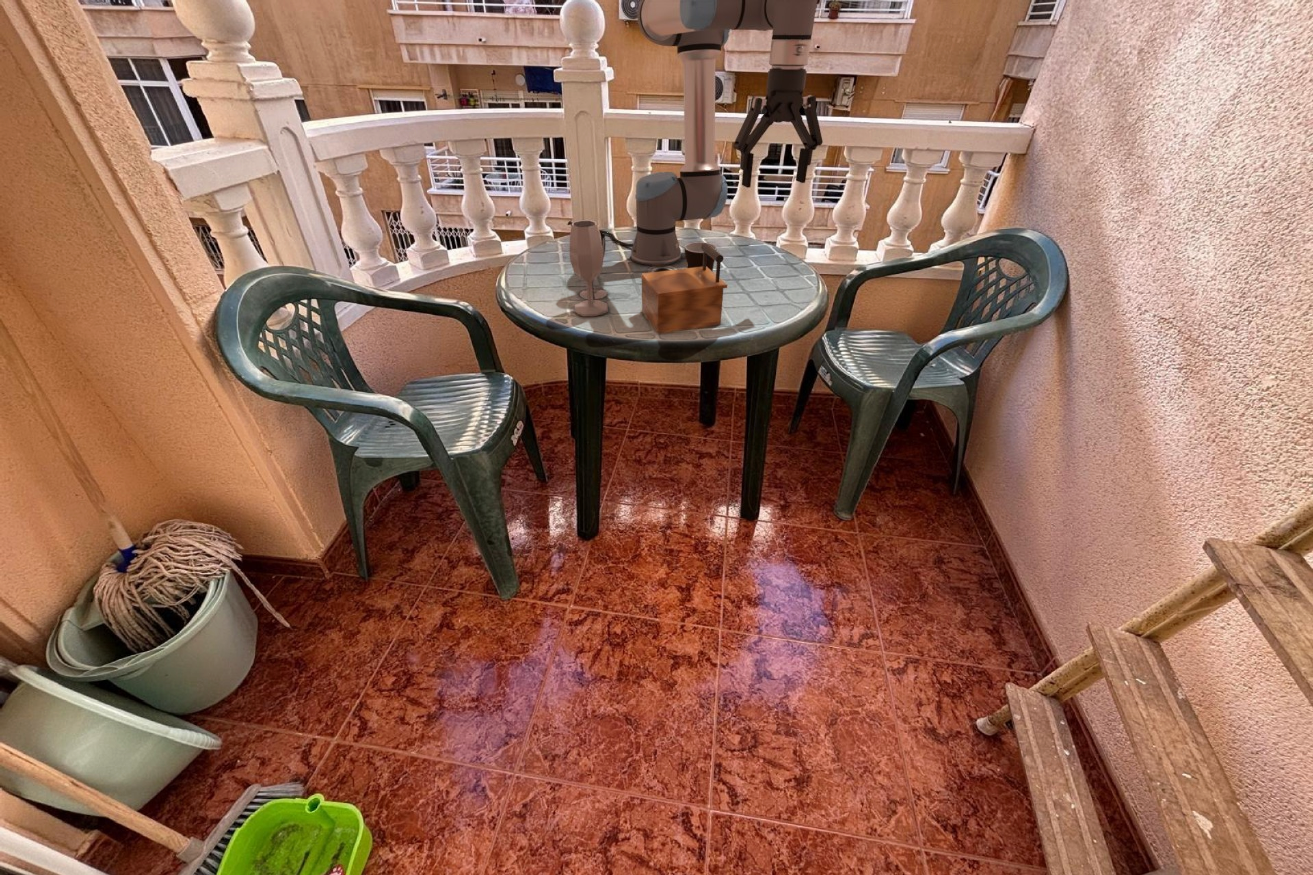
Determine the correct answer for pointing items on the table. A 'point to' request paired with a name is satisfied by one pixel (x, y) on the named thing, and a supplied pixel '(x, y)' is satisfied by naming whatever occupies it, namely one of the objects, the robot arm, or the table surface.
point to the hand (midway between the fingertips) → (773, 184)
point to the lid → (687, 277)
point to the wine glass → (596, 292)
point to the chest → (682, 309)
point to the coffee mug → (697, 255)
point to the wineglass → (587, 262)
